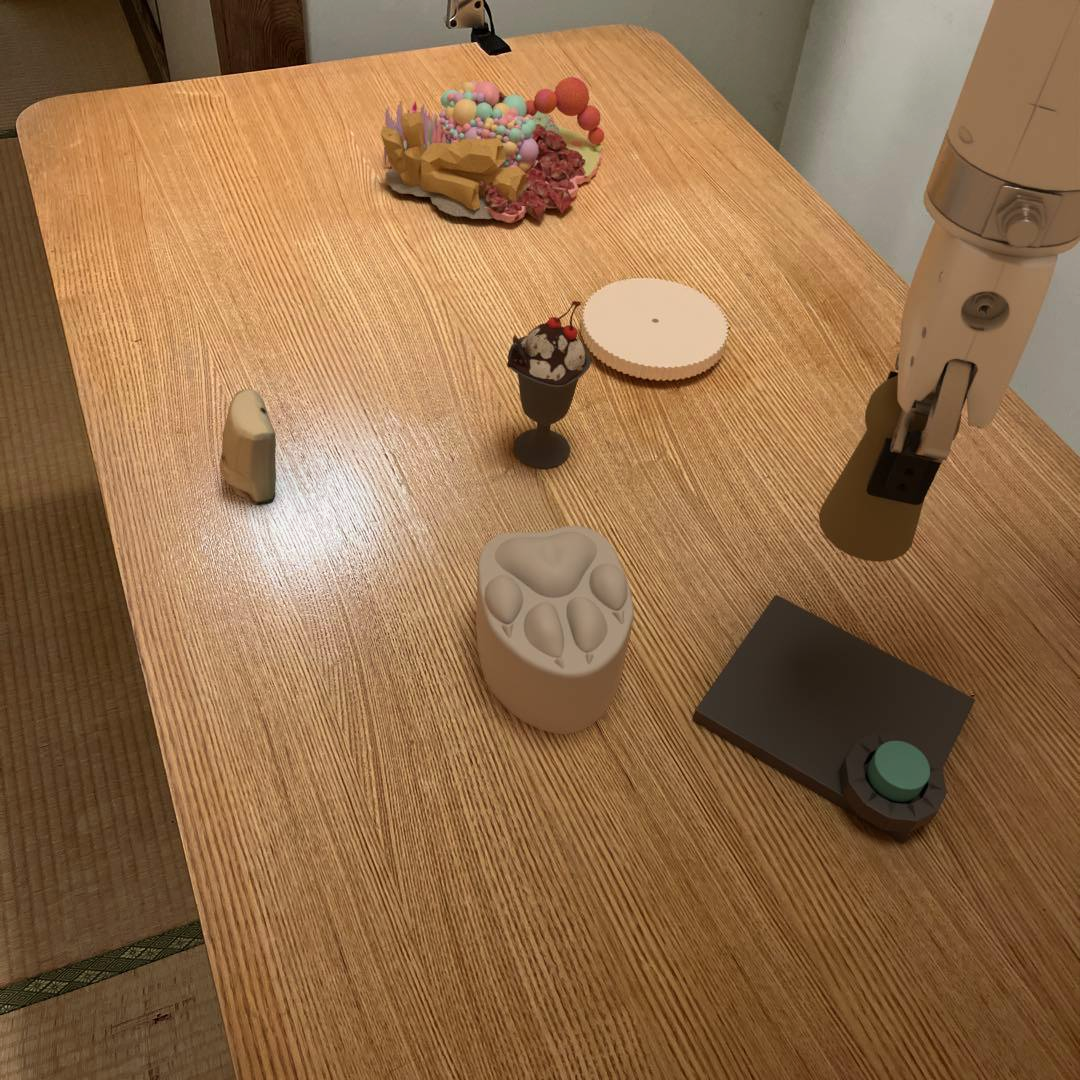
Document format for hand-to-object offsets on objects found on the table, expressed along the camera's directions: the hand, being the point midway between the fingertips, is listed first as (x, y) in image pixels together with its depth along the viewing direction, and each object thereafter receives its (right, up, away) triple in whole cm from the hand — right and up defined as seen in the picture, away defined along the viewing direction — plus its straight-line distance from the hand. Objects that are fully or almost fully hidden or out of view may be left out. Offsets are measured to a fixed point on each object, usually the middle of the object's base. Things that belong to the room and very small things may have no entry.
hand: (895, 459), depth 64 cm
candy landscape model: (-27, +38, +60) cm, 76 cm away
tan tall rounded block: (-44, 0, +25) cm, 51 cm away
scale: (0, -17, +13) cm, 22 cm away
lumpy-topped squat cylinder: (-20, -14, +15) cm, 29 cm away
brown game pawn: (0, -4, +4) cm, 6 cm away
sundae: (-21, +3, +30) cm, 37 cm away
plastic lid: (-10, +14, +41) cm, 44 cm away
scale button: (+2, -20, +7) cm, 22 cm away
